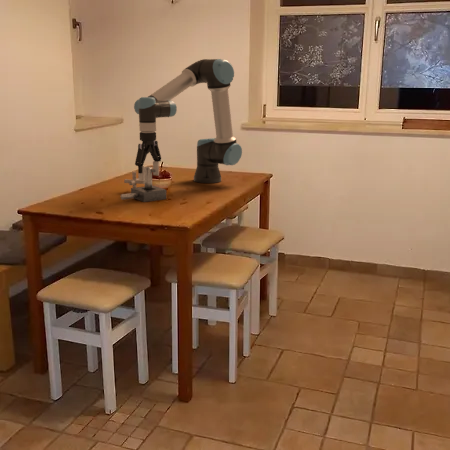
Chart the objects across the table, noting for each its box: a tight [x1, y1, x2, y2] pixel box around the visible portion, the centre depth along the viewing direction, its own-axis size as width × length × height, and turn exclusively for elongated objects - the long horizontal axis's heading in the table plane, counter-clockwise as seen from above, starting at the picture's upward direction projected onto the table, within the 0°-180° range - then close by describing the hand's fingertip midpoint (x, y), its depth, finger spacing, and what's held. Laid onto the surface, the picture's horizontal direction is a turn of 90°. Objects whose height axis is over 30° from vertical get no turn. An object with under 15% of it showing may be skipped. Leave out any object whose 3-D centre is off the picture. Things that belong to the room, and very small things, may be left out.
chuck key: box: [144, 166, 156, 190], centre depth 277 cm, size 8×4×14 cm, turn 68°
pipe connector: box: [123, 171, 145, 188], centre depth 291 cm, size 10×10×10 cm
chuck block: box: [120, 185, 167, 203], centre depth 275 cm, size 20×12×4 cm, turn 128°
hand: (148, 177), depth 276 cm, fingers open, 13 cm apart
